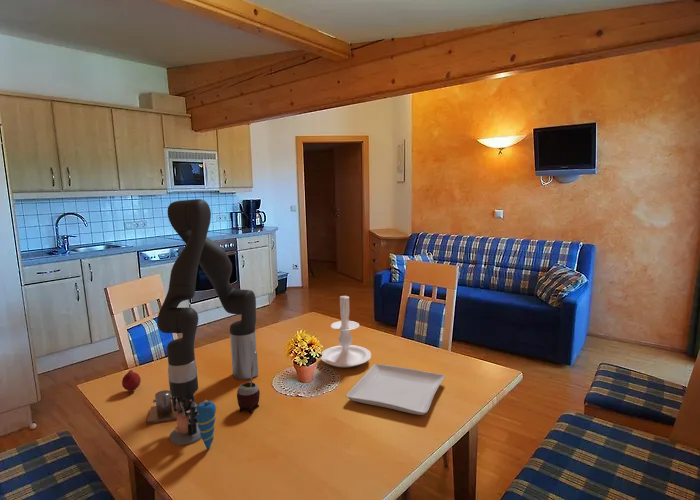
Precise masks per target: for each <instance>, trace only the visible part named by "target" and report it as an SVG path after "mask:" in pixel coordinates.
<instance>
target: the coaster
mask: <svg viewBox="0 0 700 500" xmlns="http://www.w3.org/2000/svg"><path fill="white" fill-rule="evenodd" d="M200 440H202V438H201V435H200V430H199V428H198V423H197V433H196V434H194V435H192V436H190V435H189V434H188V433H179V432H176V431H175V428H174V429H173V430H172V431H171V432H170V434H169V442H170V443H172V444H173V445H176V446H186V445H190V444H194V443H196V442H199V441H200Z"/></svg>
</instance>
